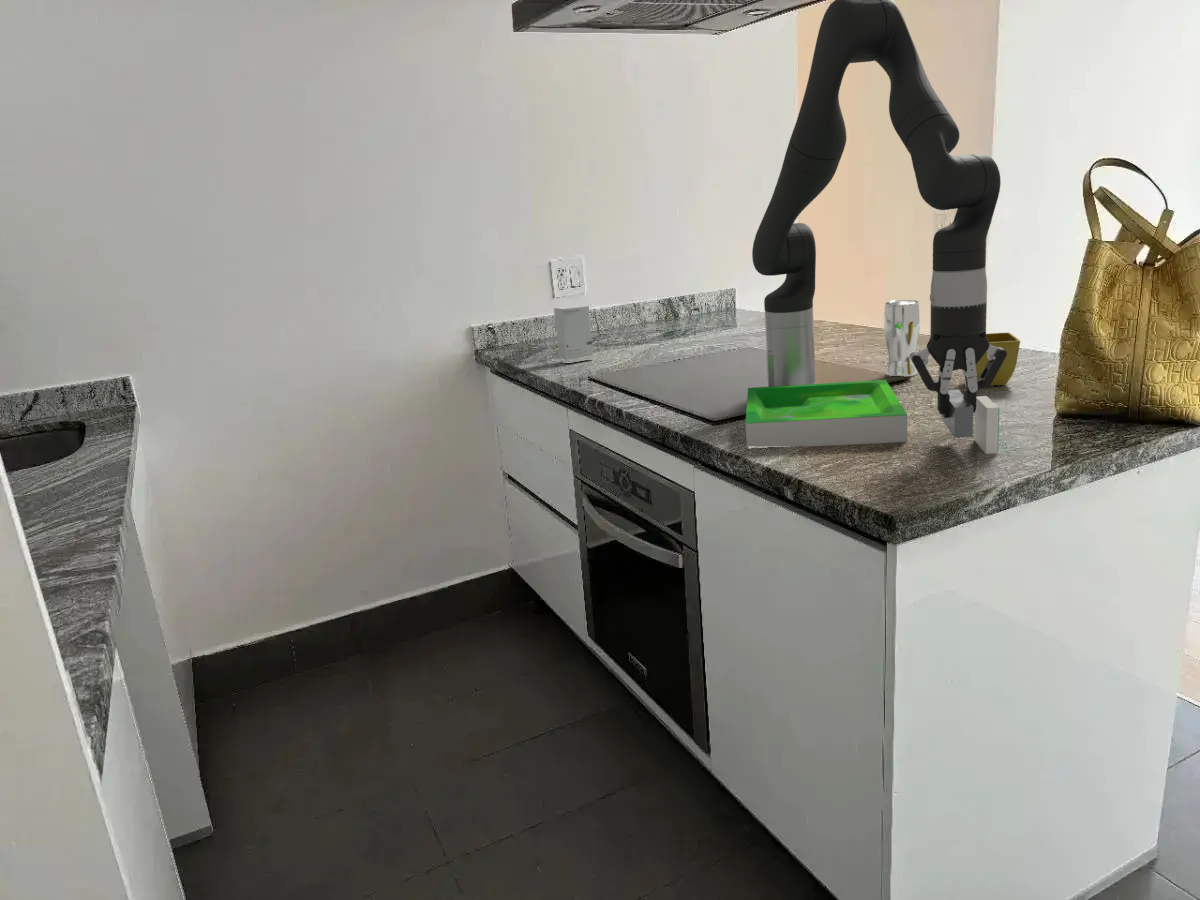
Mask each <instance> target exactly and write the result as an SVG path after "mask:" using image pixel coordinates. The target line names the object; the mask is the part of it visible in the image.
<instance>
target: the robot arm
mask: <svg viewBox="0 0 1200 900" xmlns="http://www.w3.org/2000/svg"><path fill="white" fill-rule="evenodd" d="M815 41H816V42H815V46H814V52H813V55H812V56H813V57H812V62H811V65H810V71H809V75H808V78H807V83H806V88H805V91H804V94H803V99H802V102H801V105H800V109H799V112H798V115H797V118H796V122H795V124H794V127H793V130H792V133H791V135H790V138H789V141H788V145H787V148H786V151H785V154H784V159H783V163H782V164H781V165H782V166H781V169H780V172H779V175H778V178H777V181H776V185H775V187H774V191H773V193H772V196H771V199H770V201H769V203H768V205H767V208H766V209H765V212H764V215H763V217H762V219H761V222H760V224H759V226H758V229H757V230H756V233H755V236H754V240H753V243H752V244H753V245H752V248H751V249H752V251H751V255H752V256H751V257H752V264H753V267H754V269H755V271H756V272H758V273H759V274H760V275H762V276H769V277H770V276H781V275H786V276H785V279H784V281H783V283H782V284H781V285H780V286H779V287H777V288H776V289H775V290H772V291H771V292H769V293H768V294H766V296H765V297H764V299H763V300H764V301H763V302H764V303H763V304H764V305H763V307H764V317H765V318H764V320H765V321H764V322H765V323H764V326H765V345H766V346H765V347H766V366H767V367H766V369H767V370H766V371H767V387H772V386H789V385H806V384H817V382H816V363H815V362H816V361H815V360H816V359H815V356H816V355H815V333H814V332H815V330H814V329H815V328H814V296H815V293H816V292H815V291H816V269H817V268H816V261H817V258H816V257H817V250H816V247H817V246H816V240H815V235H814V233H813V230H812V229H811V227H810V226H809V225H808V224H806V223H805V222H804V223H802V222H797V223H796V220H797V218H798V217H799V216H800V214H801V213H802V212H803V211H804V210H805V209H806V208H807V207H808V206H809V205H810V204H811V203H812V202H813V201H814V200H815V199H816V198H817V197H818V196H819V195H820V194H821V193H822V191H824V190H825V189H826V188H827V186H828V185H829V184H830V182H831V181H832V179H833V178H834V176H835V174H836V172H837V170H838V167H839V164H840V161H841V158H842V156H843V153H844V151H845V147H846V145H847V144H846V143H847V129H846V123H845V119H844V117H843V116H844V115H843V113H842V109H841V105H840V100H839V99H840V98H839V95H840V89H841V86H842V81H843V78H844V76H845V72H846V70H847V68H848V66H849V65H850V64H856V63H857V64H858V63H866V62H868V63H870V62H876V63H877V64H878V65H879V66H880V68H882V69H883V71H884V72H885V73H886V74H887V76H888V78H889V81H890V82H889V83H890V92H889V101H888V112H889V114H888V115H889V118H890V121H891V124H892V126H893V129H894V131H895V132H896V134H897V135H898V137H899V139H900V141H901V143H903V145H904V147H905V148H906V151H907V152H908V153H909V155H910V158H911V163H912V166H913V172H914V175H915V176H914V177H915V180H916V185H917V189H918V192H919V195H920V197H921V198H922V200H924V202H925V204H927V205H929V206H930V207H931V208H932V209H933V208H934V209H936V210H940V211H946V210H947V211H948V210H956V209H957V210H956V211H955V212H956V213H955V216H954V218H953V221H952V222H951V223H950V224H949V225H946V226H945V227H942V228H940V229H938V230H937V231H935V234H934V236H933V238H932V276H931V283H930V294H929V301H930V328H929V329H930V335H929V340H928V342H927V344H926V347H925V348H923V349H921V350H920V351H918V352H917V351H916V352H913V353H911V354H910V359H911V360H912V362H913V364H914V366H915V368H916V370H917V374H918V375H919V377H920V378H921V381H922V382H923V385H924V386H925V387H926V389H927V390H929V391H933V392H936V393H937V398H936V399H937V402H936V403H937V409H936V410H937V411H938V413H939V414H940V415H941V414H942V416H943V417H944V418H949V401H950V394H949V393H948V391H949V390H950V383H951V380H952V377H953V371H954V372H955V371H956V370H962V372H963V375H964V376H963V377H964V383H965V385H964V386H965V389H964V390H963V395H964V397H965V398H966V399H967V400H968V401H969V402H970V404H971V405H972V406H973V414H975V411H976V397H977V393H978V392H979V390H982V389H984V388H990V387H991V386H990V385H991V383H992V381H993V380H994V378H995V376H996V374H997V372H998V370H999V369H1000V367H1001V365H1002V363H1003V361H1004V359H1005V358H1006V356H1007V352H1006V351H1005V350H1004V349H1003V348H1001V347H995V346H993V345H990V343H989V340H988V339H987V337H986V334H987V306H988V305H987V303H988V280H987V270H986V269H987V268H986V265H987V264H986V258H987V256H986V255H987V251H986V250H987V236H988V234H989V233H988V232H989V230H990V227H991V224H992V220H993V216H994V213H995V210H996V205H997V203H998V198H999V196H1000V193H1001V191H1000V190H1001V183H1002V182H1001V175H1000V169H999V167H998V164H997V163H996V161H995V160H994V158H992V157H991V156H989V155H987V154H983V153H972V154H964V155H956V156H952V155H951V152H952V151H953V150H954V149H955V148H956V147H957V145H958V144H959V140H960V131H959V128H958V126H957V123H956V122H955V120H954V119H953V117H952V116H951V113H950V112H949V111H948V109H947V107H946V106H945V105H944V104H943V102H942V101H941V99H940V98H939V96H938V94H937V93H936V91H935V89H934V88H933V86H932V83H931V82H930V80H929V78H928V76H927V74H926V71H925V69H924V66H923V64H922V61H921V59H920V55H919V53H918V50H917V48H916V45H915V43H914V40H913V38H912V36H911V34H910V31H909V29H908V26H907V23H906V20H905V17H904V16H903V14H902V11H901V10H900V8H899V6H898V5H897V3H896V2H895V1H894V0H832V2H831V3H830V5H828V7H827V8H826V10H825V12H824V15H823V17H822V19H821V23H820V26H819V29H818V33H817V37H816V40H815ZM986 351H987V352H988V354H987V358H988V359H989V361H988V362H987V364H986V366H985V368H984V370H983V372H982V374H981V375H980V377H979V378H978V379H977V372H976V364H977V363H978V361H979V360H980V359H981V358H982V356H983V355H984V354H985V352H986ZM929 356H931V357H932V358H933V360H934V361H935V362H936V363H937V365H938V373H937V374H938V376H937V377H938V378H937V381H936V380H935V381H934V379H933V377H932V376H931V374H930V372H929V370H928V368H927V367H926V366H927V365H928V364H929Z"/></svg>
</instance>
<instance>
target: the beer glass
mask: <svg viewBox="0 0 1200 900" xmlns="http://www.w3.org/2000/svg"><path fill="white" fill-rule="evenodd" d="M919 303H920V302H919V300H917V299H916V300H914V299H899V300H891V301H887V302H885V303H884V315H883V331H884V336H885V337H884V338H885V344H886V348H887V353H888V363H887V364H888V365H887V369H886V375H887V376H888V375H889V376H888V377H891V376H904V377H903V378H910V377H914V376H916V375H918V371H917V370H916V368H915V366H914V364H913V362H912V360H911V359H910V354H911V353H913V352H916V353H917V345H918V341H919V337H920V329H921V328H920V324H921V319H920V317H921V316H920V314H921V313H920V305H919Z"/></svg>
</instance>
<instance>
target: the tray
mask: <svg viewBox="0 0 1200 900" xmlns="http://www.w3.org/2000/svg"><path fill="white" fill-rule="evenodd" d="M746 394H747V397H746V412H745V413H746V414H745V436H746V437H745V438H746V447H747V446H807V447H823V446H824V447H825V446H846V445H848V446H849V445H868V444H891V443H908V413H907V412H906V410H905V408H904V407H903V405H902V404H901V402H900V401H899V399H898V397H897V395H896V394H895V393H894V391H893V388H892V387H891V386H890V385H889V383H888V381H887V380H886V379H878V380H877V379H876V380H875V379H874V380H860V381H859V380H858V381H843V382H841V381H840V382H825V383H816V384H806V385H789V386H772V387H768V386H756V387H748V388H747V393H746Z"/></svg>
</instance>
